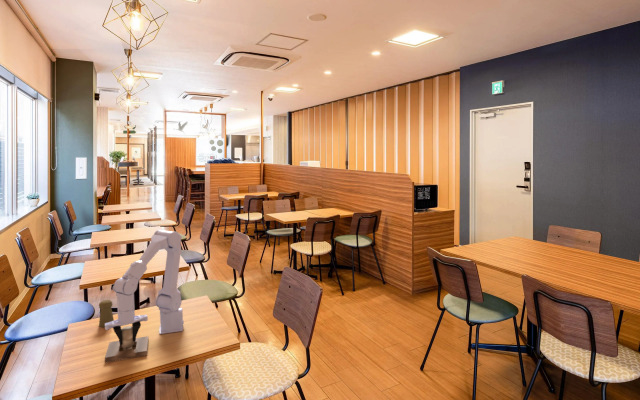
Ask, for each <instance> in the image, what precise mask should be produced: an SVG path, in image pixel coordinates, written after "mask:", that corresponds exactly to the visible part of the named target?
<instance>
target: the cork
mask: <svg viewBox="0 0 640 400" xmlns="http://www.w3.org/2000/svg"><path fill="white" fill-rule="evenodd" d="M112 307H113V301H112V300H111V299H103V300H101V301H100V302H99V303H98V308H99V309H100V313H99V321H98V323H99V324H98V327H99V328H102V329H103V328H104V329H105V323H108V322H111V321H114V320H115V319H114V314H113V310H112Z"/></svg>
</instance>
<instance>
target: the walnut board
mask: <svg viewBox="0 0 640 400" xmlns="http://www.w3.org/2000/svg"><path fill="white" fill-rule="evenodd" d="M133 343H134V345H133V346H132V349H131V350H125V351H124V350H121V349H123V348H122V345H120V342H119V340H114V341H109V342H108V346H107V349H106V352H105V356H104V364H107V363H112V362H117V361H124V360H129V359H130V360H131V359H134V358H135V359H136V358H141V357H142V358H143V357H147V356H148V351H149V350H148V349H149V336H148V335H147V336H141V337H136V341H135V342H133ZM133 347H135V348H133Z"/></svg>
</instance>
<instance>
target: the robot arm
mask: <svg viewBox="0 0 640 400" xmlns="http://www.w3.org/2000/svg"><path fill="white" fill-rule="evenodd" d="M150 239H151V240H150V242H149V244H148V246H147V247H146V249H145V250H144V252H143V253H142V254H141V256H140V258H139V260H135V261H133V262H132V263H131V264H130V265H129V268H128V269H127V270H126V271H125V272H124V274H123V275H122V277H120V278H118V279H116V280H115V281H114V284H113V286H112V290H113V292H114V293H115V296H116V303H117V304H116V305H117V319H114V321H111V322H108V323H105V328H104V329H105V330H106V331H108V330H110V329H113V331H114V333H115V335H116V336H117V338H118V341H119V342H120V345H122V334H121V333H122V330H121V329H122V326H128V325H132V327H133V342H135V341H136V338H137V336H138V332H139V330H140V328H141V325H142V324H141V322H147V321H148V319H149V318H148V315H147V314H142V315H140V314H139V315H138V314H137V315H136V314H135V313H136V312H135V292H136V291H137V290H138V284H139V281H140V279H142V277H143V275H144V274H145V273H146V271H147V270H148V267H147V265H148V264H149V263H150V261H151V260H152V259H153V258H154V257H155V255H156V254H157V253H159V251H160V250H165V251H166V260H165V269H164V277H163V278H164V279H163V285H162V288H160V289H159V290H158V292H157V296H156V298H155V306H156V307H158V310H159V317H160V318H159V319H160V321H159V323H160V324H159V332H158V333H159V335H163V334H170V333H176V332H183V331H184V324H185V323H184V316H183V315H184V313H183V307H181V306H182V297H181V296H182V293H181V291H180V290H179V289H178V288H177V286H178V278H179V271H180V260H181V253H182V244H181V243H182V235H181V234H180V233H178V231H175V230H174V231H172V230H171V231H170V230H164V229H156V230H155V232H154V233H153V234H152V236H151V237H150Z"/></svg>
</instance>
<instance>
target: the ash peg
mask: <svg viewBox="0 0 640 400" xmlns="http://www.w3.org/2000/svg"><path fill="white" fill-rule="evenodd" d="M121 330H122V333H121V334H122V349H123V351H125V350H131V349H133V347H132V346H133V345H134V343H133V327H132V326H131V325H129V326H128V325H125V326H124V327H121Z"/></svg>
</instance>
